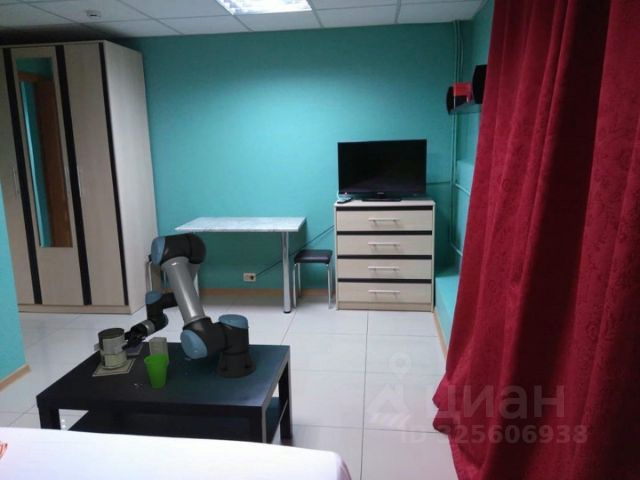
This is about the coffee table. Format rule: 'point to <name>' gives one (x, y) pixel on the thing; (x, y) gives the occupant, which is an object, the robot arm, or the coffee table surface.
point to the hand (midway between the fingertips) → (104, 349)
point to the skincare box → (158, 346)
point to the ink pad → (134, 350)
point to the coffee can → (112, 347)
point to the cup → (157, 369)
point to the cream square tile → (114, 369)
